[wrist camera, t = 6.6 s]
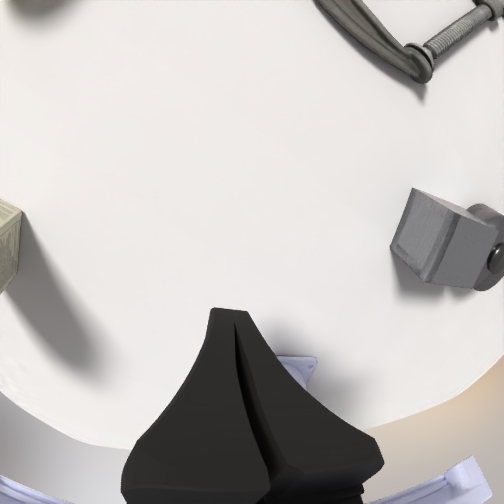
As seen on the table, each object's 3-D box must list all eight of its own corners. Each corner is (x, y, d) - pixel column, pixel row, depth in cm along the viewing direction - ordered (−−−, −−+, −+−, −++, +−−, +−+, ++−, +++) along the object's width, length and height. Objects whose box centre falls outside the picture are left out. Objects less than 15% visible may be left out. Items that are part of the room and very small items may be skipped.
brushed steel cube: (459, 206, 21) (498, 231, 16) (438, 257, 23) (471, 288, 19) (412, 187, 20) (455, 212, 15) (389, 247, 22) (424, 282, 17)
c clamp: (437, -85, 7) (453, -93, 5) (523, 63, 15) (543, 66, 12) (262, -48, 11) (269, -67, 9) (405, 153, 19) (427, 162, 16)
